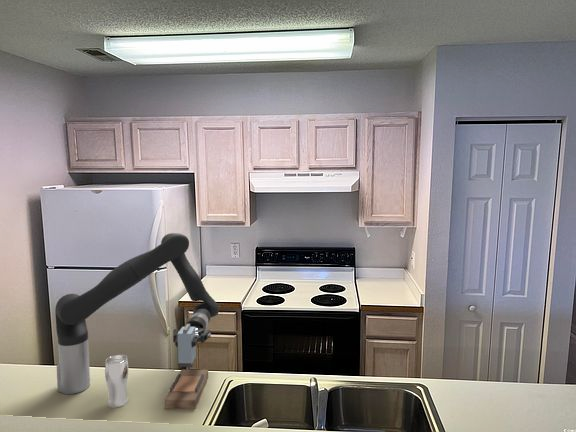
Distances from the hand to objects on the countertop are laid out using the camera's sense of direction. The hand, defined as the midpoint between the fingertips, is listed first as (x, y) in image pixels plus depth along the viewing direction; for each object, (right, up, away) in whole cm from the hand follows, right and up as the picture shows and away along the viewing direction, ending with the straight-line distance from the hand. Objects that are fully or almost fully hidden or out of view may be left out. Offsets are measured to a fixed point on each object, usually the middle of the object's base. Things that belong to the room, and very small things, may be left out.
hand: (184, 344), depth 130 cm
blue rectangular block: (0, -8, +3) cm, 8 cm away
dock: (0, -18, +5) cm, 19 cm away
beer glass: (-22, -19, -2) cm, 29 cm away
